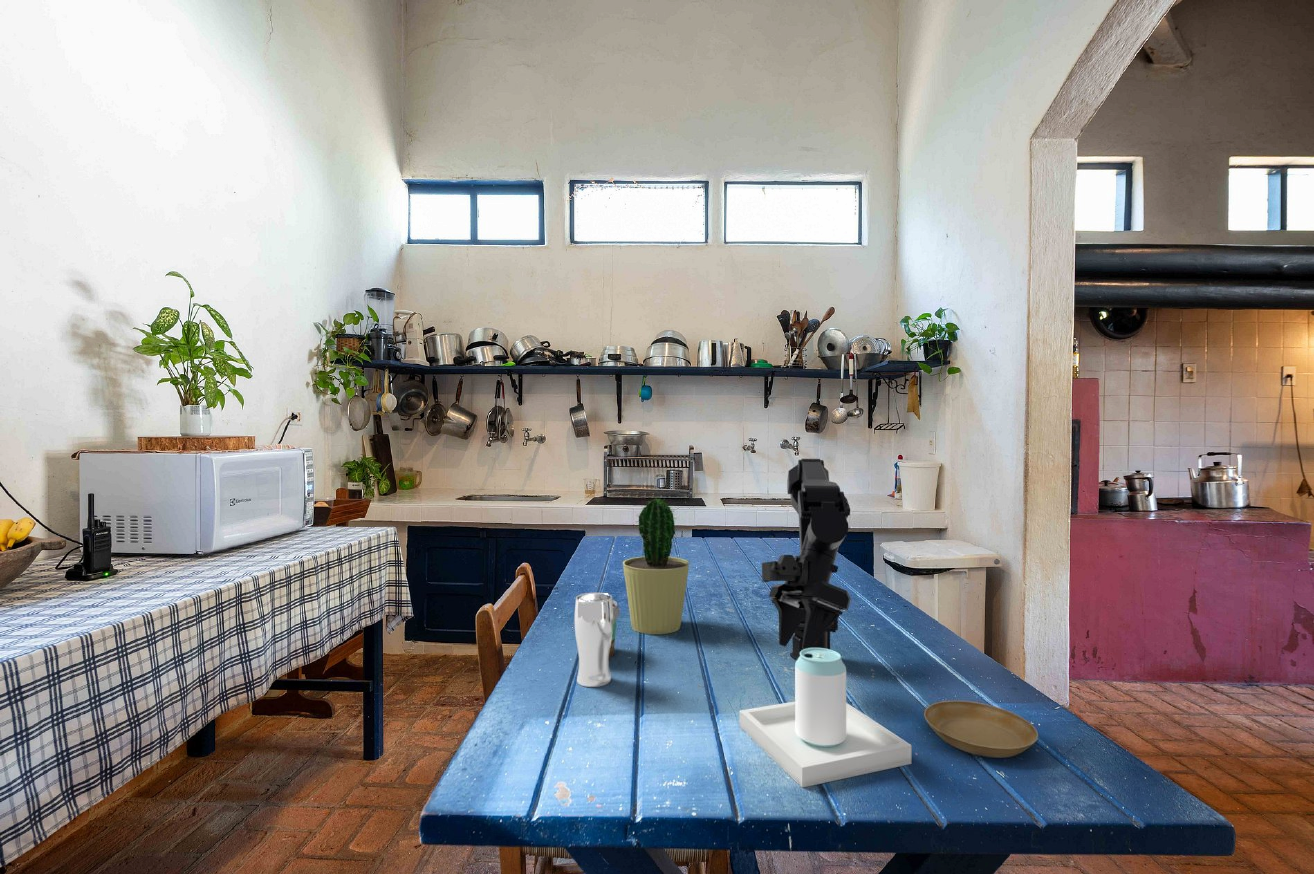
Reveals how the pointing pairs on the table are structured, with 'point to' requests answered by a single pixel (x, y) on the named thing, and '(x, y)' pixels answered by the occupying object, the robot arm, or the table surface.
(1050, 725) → the table surface
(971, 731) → the plant saucer
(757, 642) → the table surface
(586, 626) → the beer glass
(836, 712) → the can
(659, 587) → the potted cactus
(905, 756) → the tray
